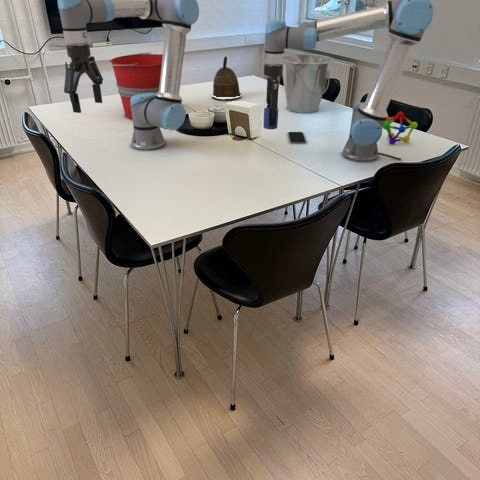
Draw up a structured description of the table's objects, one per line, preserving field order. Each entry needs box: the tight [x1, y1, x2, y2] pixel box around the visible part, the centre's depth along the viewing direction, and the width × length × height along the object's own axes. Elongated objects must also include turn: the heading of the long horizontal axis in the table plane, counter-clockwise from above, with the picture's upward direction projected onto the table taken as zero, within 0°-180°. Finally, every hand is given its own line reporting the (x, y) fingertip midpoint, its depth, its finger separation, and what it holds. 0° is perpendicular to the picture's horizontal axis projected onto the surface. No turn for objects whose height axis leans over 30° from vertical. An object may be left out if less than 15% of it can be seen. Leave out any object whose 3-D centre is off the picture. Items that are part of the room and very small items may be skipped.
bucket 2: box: [282, 53, 334, 114], centre depth 253 cm, size 30×30×28 cm
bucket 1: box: [107, 51, 163, 121], centre depth 241 cm, size 35×35×30 cm
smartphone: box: [288, 131, 307, 144], centre depth 215 cm, size 7×1×15 cm
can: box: [262, 107, 279, 130], centre depth 183 cm, size 6×6×8 cm
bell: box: [212, 56, 242, 97], centre depth 278 cm, size 19×26×20 cm
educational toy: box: [382, 110, 418, 145], centre depth 207 cm, size 16×13×15 cm
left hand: (88, 107), depth 161 cm, fingers open, 13 cm apart
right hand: (270, 122), depth 184 cm, fingers closed on can, 6 cm apart
